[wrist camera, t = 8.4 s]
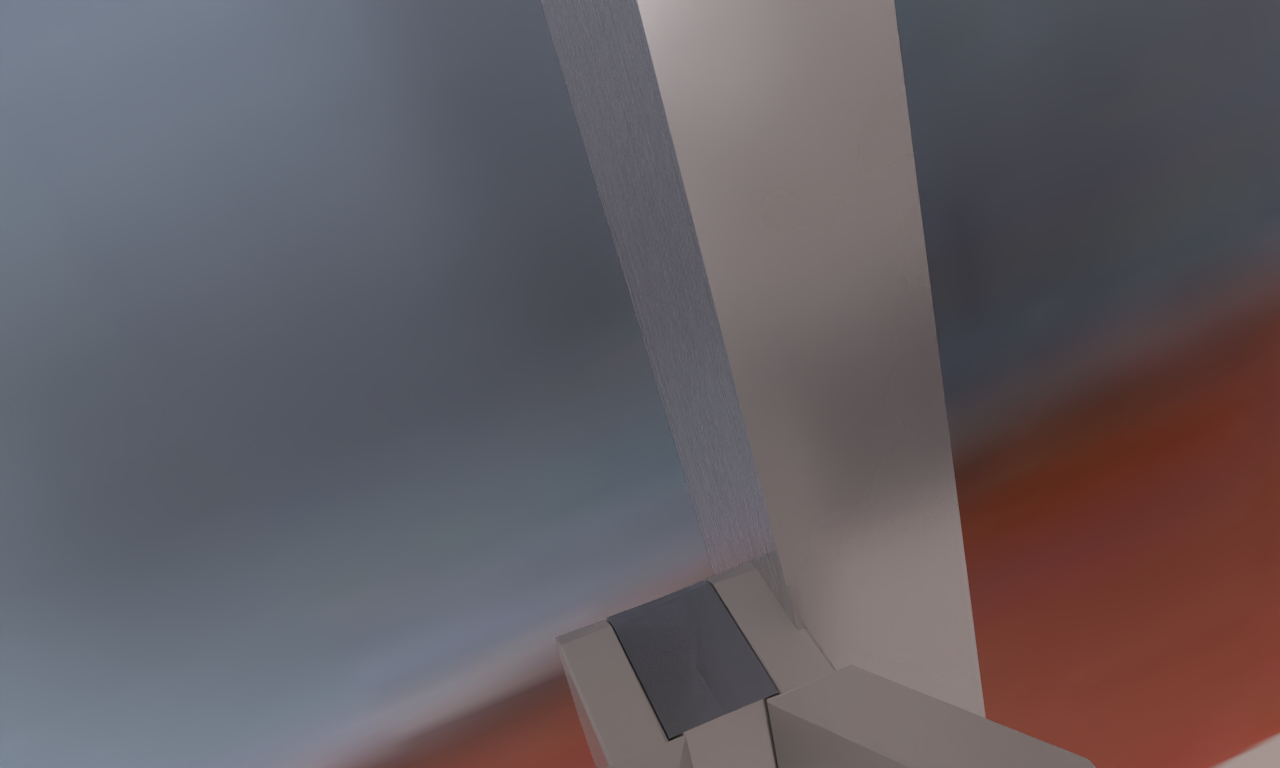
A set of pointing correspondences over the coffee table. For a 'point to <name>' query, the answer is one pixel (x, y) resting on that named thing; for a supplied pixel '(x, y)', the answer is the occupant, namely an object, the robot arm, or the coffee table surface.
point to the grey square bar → (787, 306)
